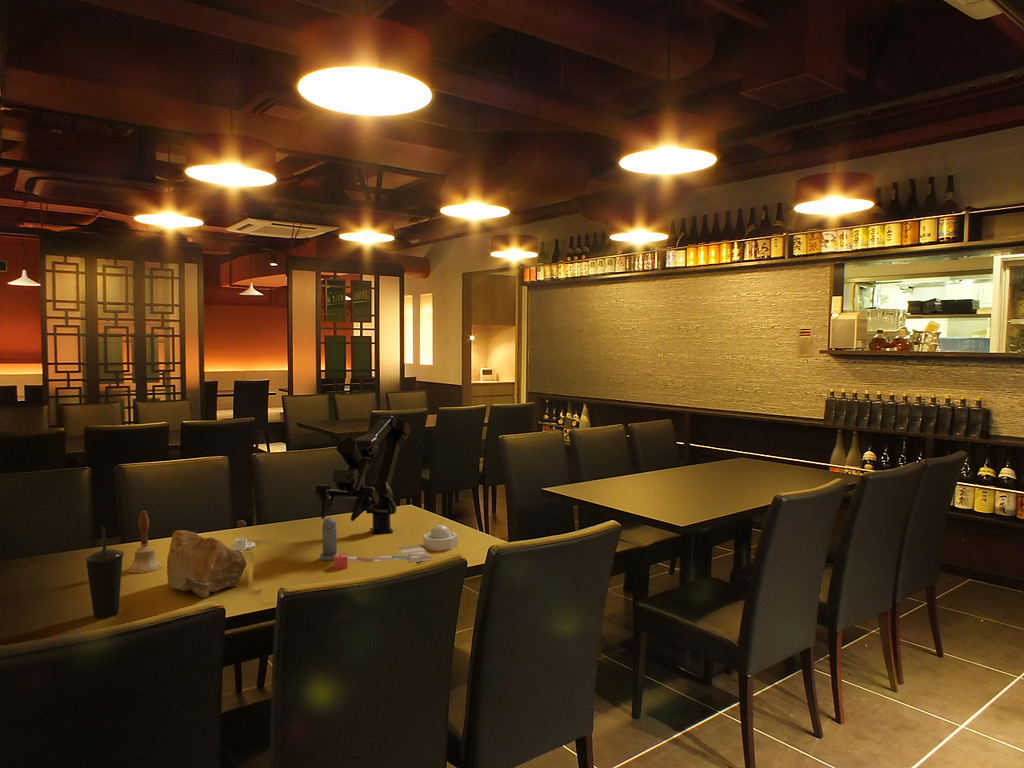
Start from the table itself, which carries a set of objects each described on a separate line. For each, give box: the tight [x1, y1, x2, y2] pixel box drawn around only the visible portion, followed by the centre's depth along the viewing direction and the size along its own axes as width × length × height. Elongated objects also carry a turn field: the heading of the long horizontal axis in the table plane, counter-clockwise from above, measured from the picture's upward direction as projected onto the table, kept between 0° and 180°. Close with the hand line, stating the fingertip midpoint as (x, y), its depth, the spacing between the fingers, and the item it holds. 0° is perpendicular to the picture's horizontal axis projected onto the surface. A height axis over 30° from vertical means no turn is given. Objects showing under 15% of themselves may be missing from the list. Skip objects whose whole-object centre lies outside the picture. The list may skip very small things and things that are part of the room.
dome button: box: [428, 524, 452, 539], centre depth 211 cm, size 7×7×6 cm
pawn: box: [319, 517, 340, 562], centre depth 195 cm, size 5×5×11 cm
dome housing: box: [422, 531, 458, 552], centre depth 211 cm, size 10×10×3 cm
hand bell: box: [127, 510, 163, 574], centre depth 190 cm, size 8×8×16 cm
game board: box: [318, 544, 434, 565], centre depth 196 cm, size 16×30×1 cm, turn 110°
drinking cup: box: [84, 526, 125, 619], centre depth 157 cm, size 8×8×20 cm
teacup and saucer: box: [232, 537, 256, 551], centre depth 206 cm, size 9×8×4 cm
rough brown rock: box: [166, 529, 247, 599], centre depth 174 cm, size 23×16×15 cm
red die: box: [333, 553, 348, 570], centre depth 187 cm, size 3×3×3 cm
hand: (336, 519), depth 199 cm, fingers open, 9 cm apart
